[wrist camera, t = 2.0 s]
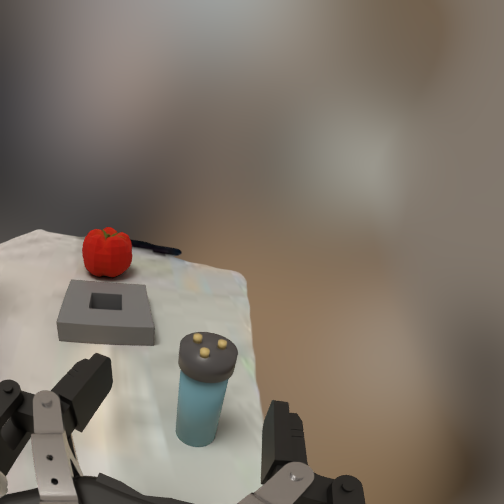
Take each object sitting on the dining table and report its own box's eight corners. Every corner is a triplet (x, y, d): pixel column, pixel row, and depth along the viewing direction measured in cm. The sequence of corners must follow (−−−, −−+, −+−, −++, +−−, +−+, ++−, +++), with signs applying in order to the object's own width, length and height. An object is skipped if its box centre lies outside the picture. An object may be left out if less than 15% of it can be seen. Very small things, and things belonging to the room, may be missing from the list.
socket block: (59, 340, 34) (56, 321, 33) (71, 295, 48) (71, 279, 47) (153, 345, 41) (154, 327, 40) (144, 299, 55) (145, 284, 54)
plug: (179, 451, 23) (188, 362, 20) (168, 418, 28) (175, 326, 25) (224, 445, 26) (248, 357, 22) (209, 414, 30) (226, 326, 27)
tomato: (128, 286, 59) (131, 242, 56) (75, 279, 54) (76, 235, 52) (132, 265, 71) (136, 228, 69) (87, 260, 66) (89, 222, 64)
